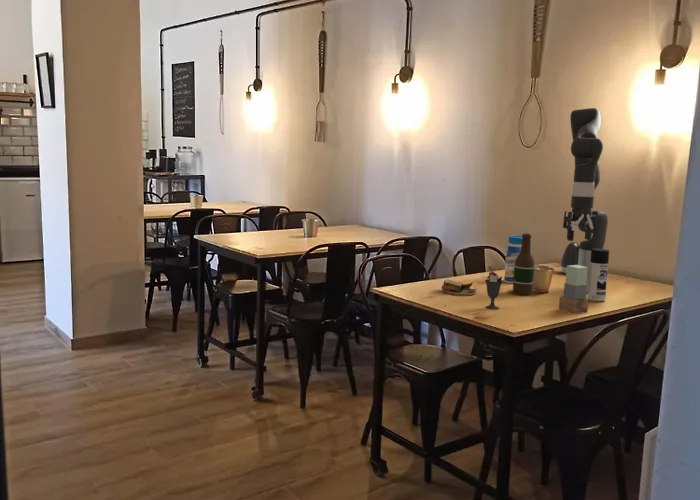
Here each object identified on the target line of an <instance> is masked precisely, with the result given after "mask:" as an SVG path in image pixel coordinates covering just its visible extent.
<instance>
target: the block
mask: <svg viewBox="0 0 700 500" xmlns="http://www.w3.org/2000/svg"><path fill="white" fill-rule="evenodd" d="M587 270H588V267H584V266H580V265H569V266H567V273H566V274H565V283H566V284H570V285H574V286H581V285H586V280H587Z"/></svg>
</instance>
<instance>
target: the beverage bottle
mask: <svg viewBox="0 0 700 500" xmlns="http://www.w3.org/2000/svg"><path fill="white" fill-rule="evenodd" d="M508 244H509V245H508V247H507V248H506V250H505V252H506V255H505V257H504V259H505V265H504V266H505V267H504V278H503V282H505V283H508V284H513V278H514V265H515V260H516V258H517V257H518V255H519V254H520V251H521V244H522V235H509V236H508Z"/></svg>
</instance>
